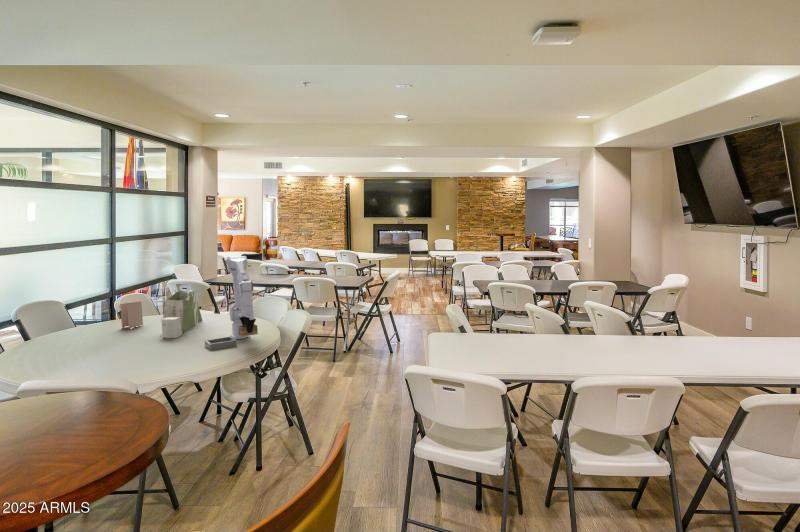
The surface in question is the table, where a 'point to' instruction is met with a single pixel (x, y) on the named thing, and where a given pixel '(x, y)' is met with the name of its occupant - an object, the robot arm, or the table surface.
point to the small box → (171, 327)
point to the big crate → (220, 343)
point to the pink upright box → (131, 314)
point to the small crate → (243, 330)
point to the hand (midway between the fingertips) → (248, 331)
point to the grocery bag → (183, 309)
